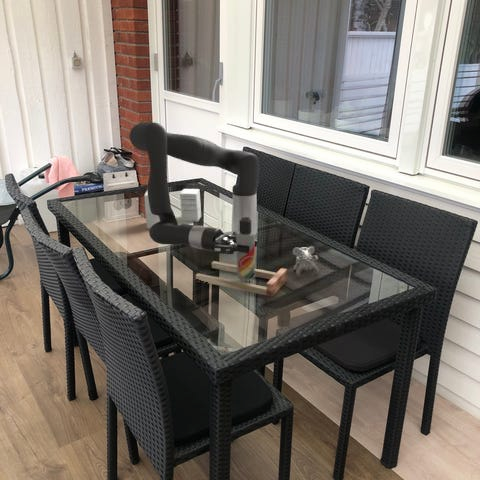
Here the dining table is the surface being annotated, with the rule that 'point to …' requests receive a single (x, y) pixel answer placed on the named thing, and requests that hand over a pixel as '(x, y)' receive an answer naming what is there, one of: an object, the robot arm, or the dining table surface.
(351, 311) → the dining table surface
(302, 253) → the elephant statuette
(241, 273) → the lotion bottle
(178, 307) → the dining table surface
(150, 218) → the skincare box
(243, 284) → the guide lane
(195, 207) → the supplement box
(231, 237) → the robot arm
